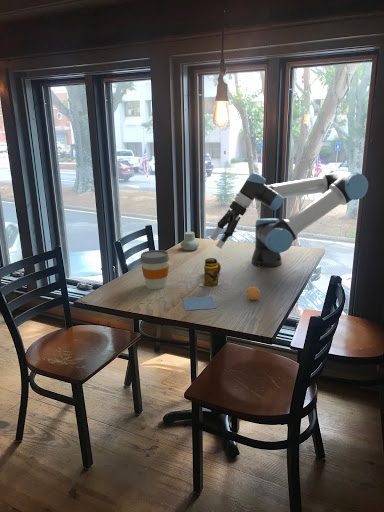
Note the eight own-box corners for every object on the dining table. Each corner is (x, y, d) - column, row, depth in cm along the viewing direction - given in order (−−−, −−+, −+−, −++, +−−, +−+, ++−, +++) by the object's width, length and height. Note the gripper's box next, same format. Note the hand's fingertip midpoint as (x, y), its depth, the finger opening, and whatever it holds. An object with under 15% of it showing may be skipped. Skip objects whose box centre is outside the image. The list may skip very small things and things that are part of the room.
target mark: (211, 296, 167) (211, 296, 167) (216, 308, 156) (216, 308, 155) (183, 298, 166) (183, 298, 166) (185, 310, 155) (185, 310, 155)
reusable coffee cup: (137, 285, 182) (134, 253, 178) (159, 278, 190) (157, 248, 185) (152, 293, 173) (150, 259, 169) (175, 285, 181) (174, 253, 176)
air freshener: (178, 249, 236) (177, 233, 233) (186, 246, 243) (186, 230, 240) (193, 252, 230) (193, 235, 227) (201, 248, 236) (201, 232, 234)
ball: (258, 296, 165) (258, 284, 164) (261, 301, 160) (261, 289, 158) (244, 297, 165) (244, 285, 163) (247, 302, 160) (247, 290, 158)
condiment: (214, 288, 175) (214, 262, 172) (197, 285, 179) (197, 260, 176) (221, 283, 181) (221, 258, 178) (205, 280, 185) (204, 255, 182)
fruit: (223, 274, 188) (214, 260, 186) (209, 282, 190) (200, 268, 189) (225, 269, 195) (217, 255, 194) (212, 276, 198) (203, 263, 197)
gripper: (227, 195, 194) (203, 232, 198) (241, 205, 170) (214, 246, 174) (239, 203, 196) (216, 239, 200) (255, 214, 172) (228, 254, 176)
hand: (215, 243), depth 187 cm, fingers open, 13 cm apart
